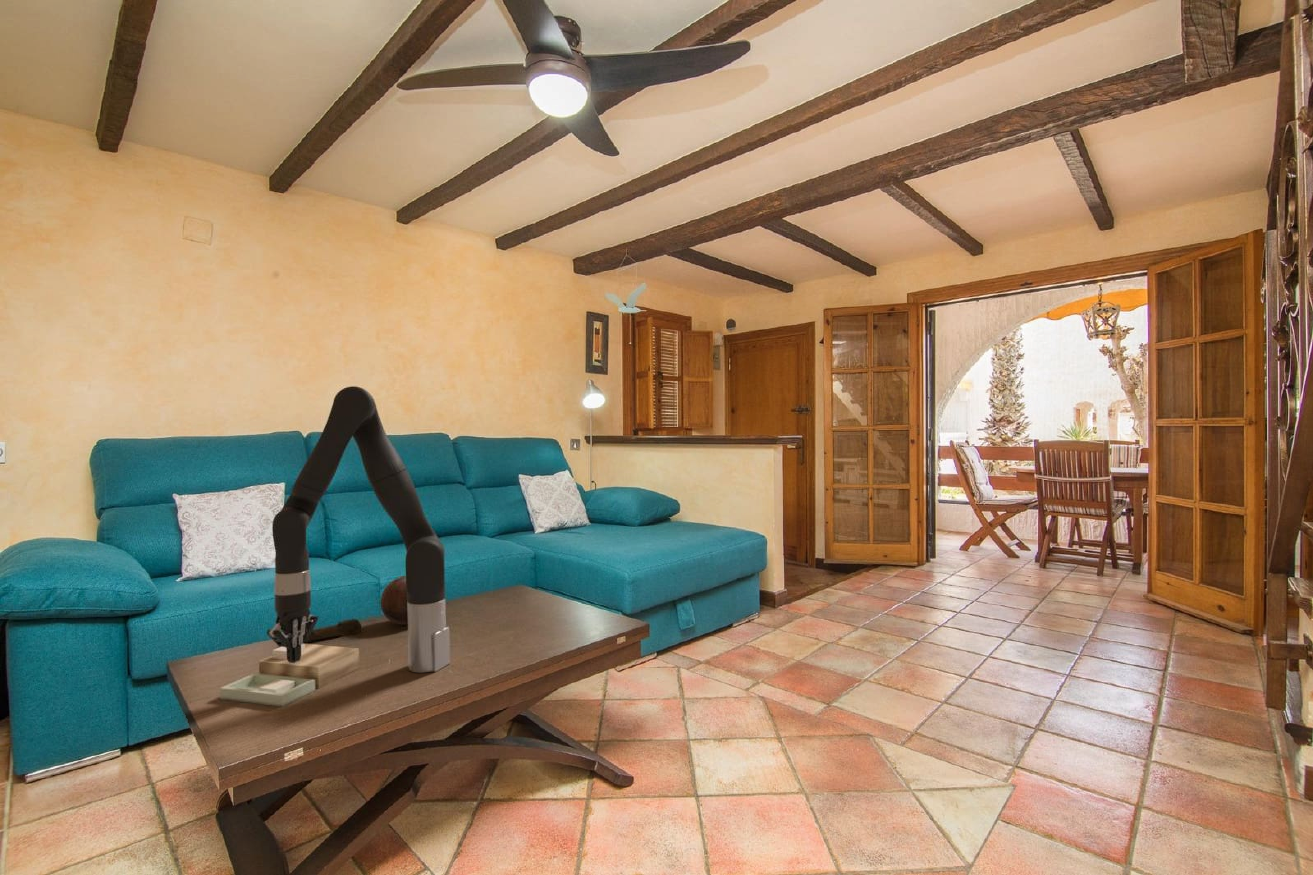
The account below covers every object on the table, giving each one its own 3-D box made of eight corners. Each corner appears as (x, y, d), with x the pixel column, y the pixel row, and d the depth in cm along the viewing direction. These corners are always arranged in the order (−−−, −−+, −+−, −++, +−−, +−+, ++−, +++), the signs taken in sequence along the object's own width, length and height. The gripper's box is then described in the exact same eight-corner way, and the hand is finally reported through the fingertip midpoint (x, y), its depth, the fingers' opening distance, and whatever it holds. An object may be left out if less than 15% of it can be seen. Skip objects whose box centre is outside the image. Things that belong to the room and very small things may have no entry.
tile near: (275, 689, 138) (276, 698, 138) (294, 681, 143) (294, 689, 143) (258, 687, 139) (258, 696, 139) (277, 679, 144) (277, 687, 144)
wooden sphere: (440, 622, 194) (439, 575, 194) (394, 634, 183) (393, 584, 183) (417, 613, 204) (416, 569, 204) (372, 624, 193) (371, 577, 193)
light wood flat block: (359, 667, 157) (358, 648, 157) (318, 688, 144) (318, 667, 144) (303, 662, 162) (302, 643, 161) (259, 681, 149) (258, 661, 149)
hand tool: (290, 648, 173) (289, 632, 173) (289, 645, 176) (288, 629, 176) (362, 635, 184) (362, 619, 184) (360, 631, 187) (360, 616, 187)
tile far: (305, 652, 154) (305, 644, 154) (288, 659, 150) (288, 651, 150) (289, 651, 156) (289, 643, 156) (272, 658, 151) (272, 650, 151)
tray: (315, 690, 143) (315, 679, 143) (282, 706, 134) (282, 695, 134) (255, 683, 148) (255, 672, 148) (220, 698, 139) (220, 688, 139)
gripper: (281, 598, 139) (282, 673, 139) (327, 584, 151) (328, 653, 151) (255, 596, 141) (257, 670, 141) (303, 582, 153) (304, 650, 153)
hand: (294, 661), depth 146 cm, fingers closed
